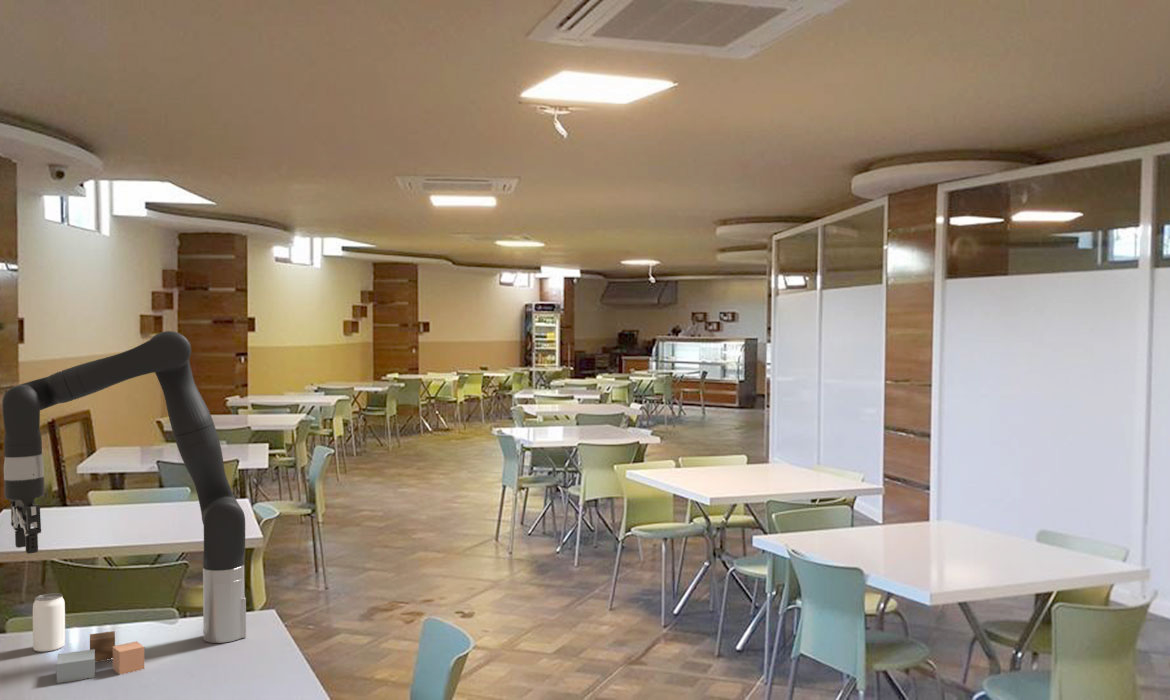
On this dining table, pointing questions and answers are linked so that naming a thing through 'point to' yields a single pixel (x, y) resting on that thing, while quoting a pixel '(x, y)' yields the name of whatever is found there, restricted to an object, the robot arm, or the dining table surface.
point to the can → (48, 622)
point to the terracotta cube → (128, 657)
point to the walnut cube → (102, 645)
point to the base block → (75, 666)
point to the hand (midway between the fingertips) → (26, 549)
